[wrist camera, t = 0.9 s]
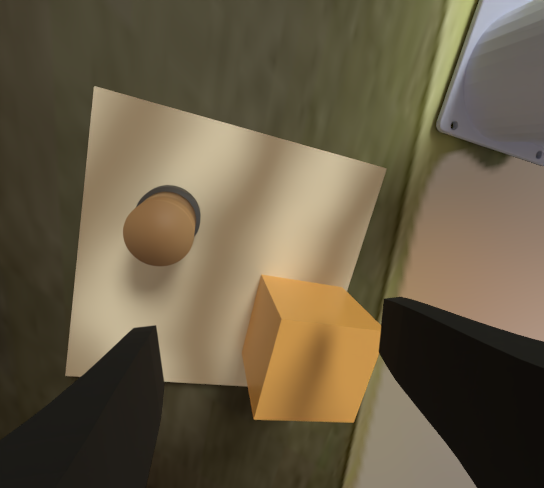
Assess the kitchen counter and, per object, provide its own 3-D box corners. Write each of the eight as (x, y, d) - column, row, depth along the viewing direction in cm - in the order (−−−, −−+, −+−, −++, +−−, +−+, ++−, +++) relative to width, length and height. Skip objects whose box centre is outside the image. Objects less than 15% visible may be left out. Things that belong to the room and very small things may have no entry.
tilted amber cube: (342, 287, 19) (387, 331, 14) (319, 359, 20) (353, 422, 15) (261, 274, 18) (281, 318, 13) (241, 352, 19) (253, 419, 14)
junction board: (373, 167, 19) (436, 173, 14) (307, 375, 22) (338, 443, 17) (104, 92, 15) (51, 60, 10) (76, 358, 18) (25, 439, 13)
